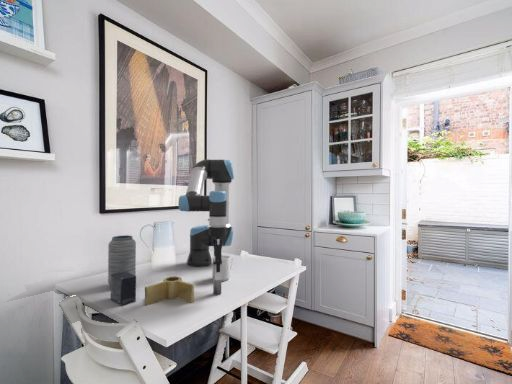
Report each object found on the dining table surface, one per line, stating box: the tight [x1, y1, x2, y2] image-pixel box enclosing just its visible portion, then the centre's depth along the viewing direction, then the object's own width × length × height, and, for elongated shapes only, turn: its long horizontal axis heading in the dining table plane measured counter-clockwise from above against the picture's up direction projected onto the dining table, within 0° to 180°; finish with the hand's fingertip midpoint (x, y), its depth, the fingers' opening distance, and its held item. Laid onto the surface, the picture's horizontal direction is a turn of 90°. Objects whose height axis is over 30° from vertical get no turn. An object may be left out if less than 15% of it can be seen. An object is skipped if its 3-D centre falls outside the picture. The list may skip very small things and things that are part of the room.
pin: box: [212, 260, 222, 296], centre depth 118 cm, size 4×4×14 cm
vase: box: [107, 234, 137, 286], centre depth 128 cm, size 12×12×23 cm
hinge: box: [144, 275, 195, 306], centre depth 113 cm, size 13×19×7 cm
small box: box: [109, 271, 137, 307], centre depth 110 cm, size 11×6×10 cm, turn 48°
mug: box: [212, 254, 234, 282], centre depth 139 cm, size 12×9×11 cm
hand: (217, 275), depth 118 cm, fingers open, 13 cm apart
